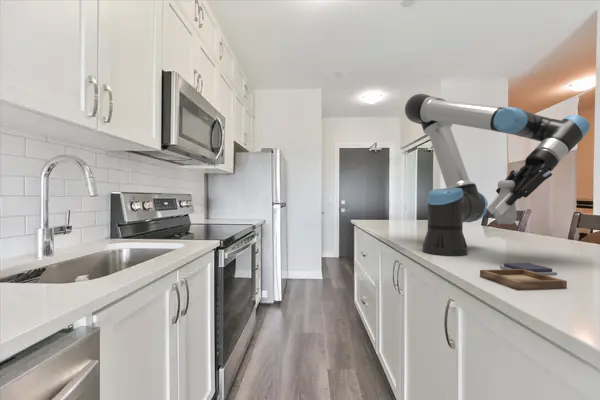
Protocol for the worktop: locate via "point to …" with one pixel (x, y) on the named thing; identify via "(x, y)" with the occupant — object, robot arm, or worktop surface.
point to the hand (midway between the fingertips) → (493, 211)
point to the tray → (523, 279)
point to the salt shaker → (511, 212)
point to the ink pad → (529, 268)
